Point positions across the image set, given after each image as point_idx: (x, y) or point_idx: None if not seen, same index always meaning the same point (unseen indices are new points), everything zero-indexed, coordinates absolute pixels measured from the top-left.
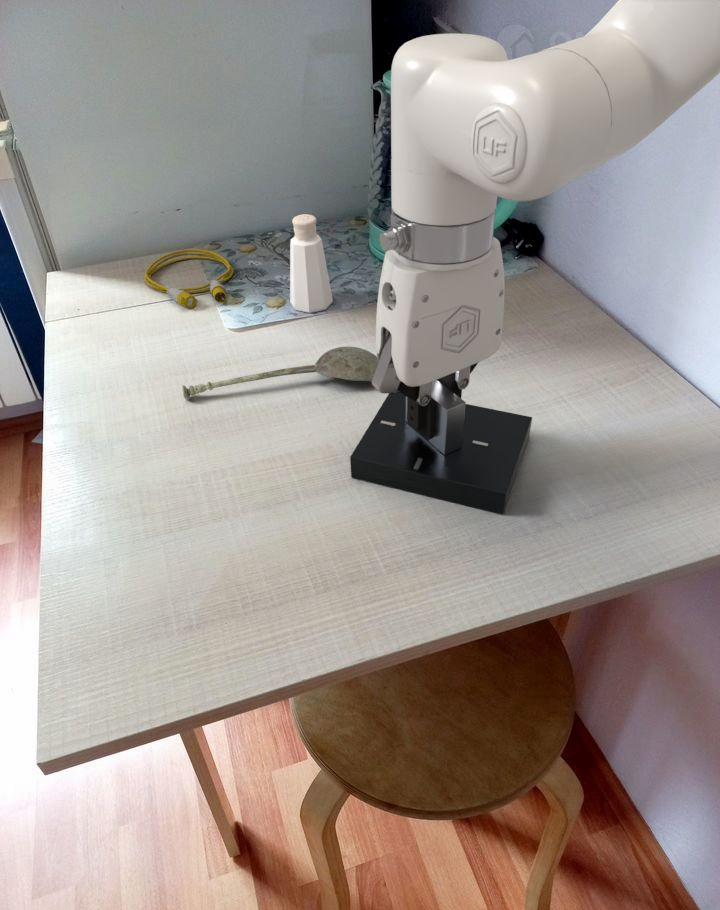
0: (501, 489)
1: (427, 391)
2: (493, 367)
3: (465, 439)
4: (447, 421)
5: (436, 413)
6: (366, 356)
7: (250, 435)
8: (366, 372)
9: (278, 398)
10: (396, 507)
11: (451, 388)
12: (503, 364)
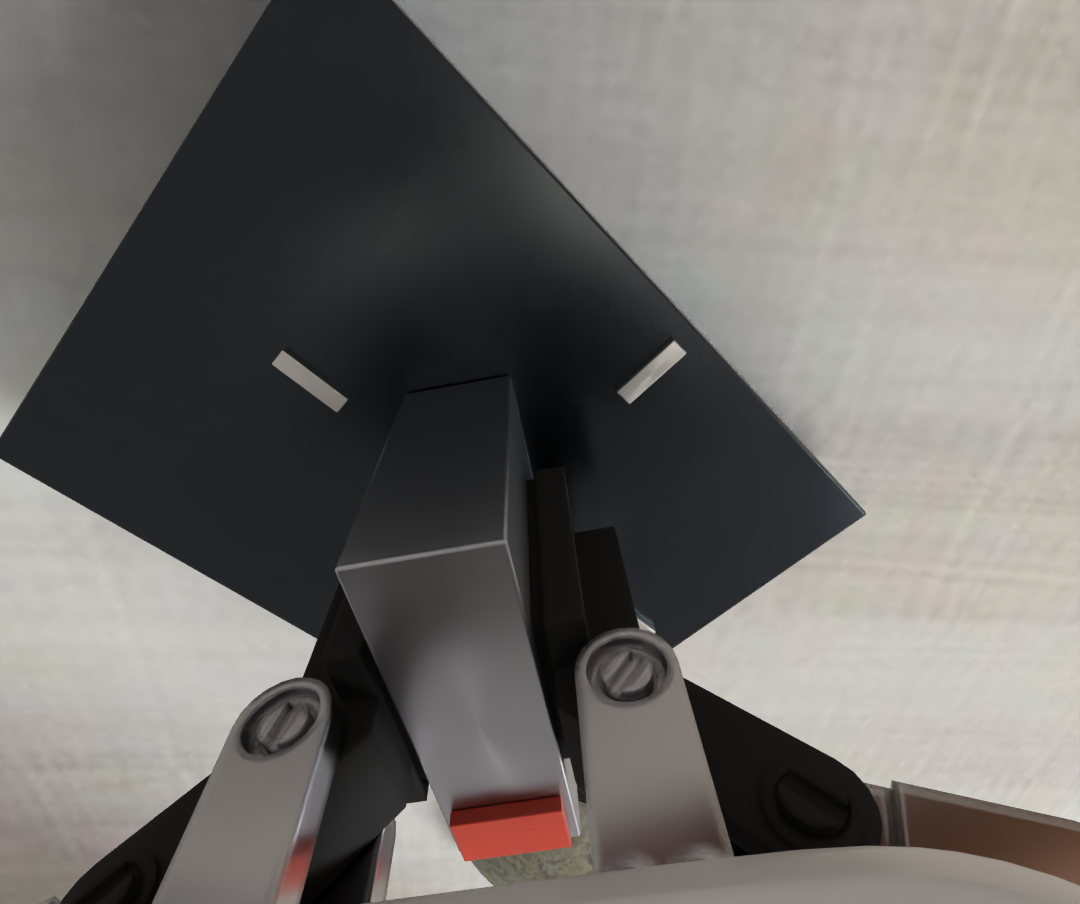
0: None
1: (620, 731)
2: (115, 736)
3: (367, 435)
4: (500, 484)
5: (526, 567)
6: (517, 875)
7: (944, 707)
8: None
9: None
10: (768, 247)
11: (376, 704)
12: (75, 738)
